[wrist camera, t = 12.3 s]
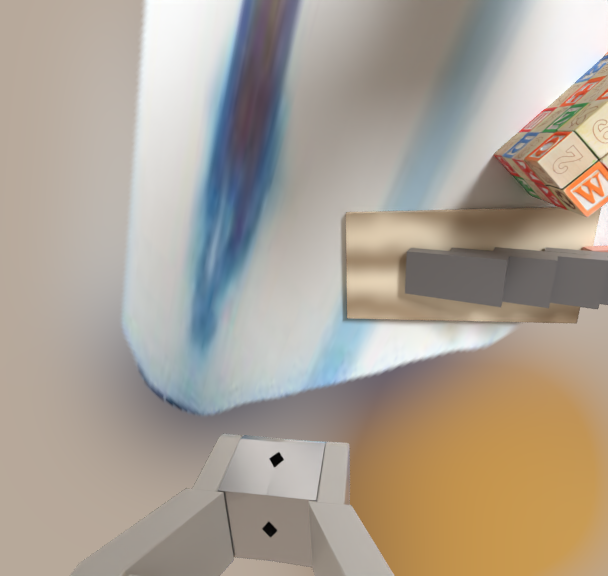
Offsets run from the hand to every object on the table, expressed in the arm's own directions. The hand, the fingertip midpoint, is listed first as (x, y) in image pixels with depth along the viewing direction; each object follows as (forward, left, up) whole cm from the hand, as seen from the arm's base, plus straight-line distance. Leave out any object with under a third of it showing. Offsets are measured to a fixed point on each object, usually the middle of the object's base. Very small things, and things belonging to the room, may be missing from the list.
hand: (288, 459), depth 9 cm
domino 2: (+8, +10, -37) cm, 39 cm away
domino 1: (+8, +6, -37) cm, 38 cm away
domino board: (+8, +12, -39) cm, 42 cm away
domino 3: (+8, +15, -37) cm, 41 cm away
